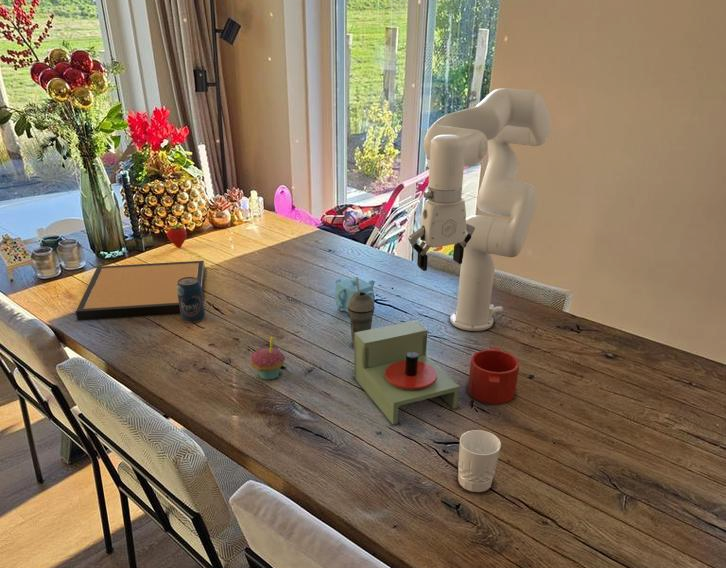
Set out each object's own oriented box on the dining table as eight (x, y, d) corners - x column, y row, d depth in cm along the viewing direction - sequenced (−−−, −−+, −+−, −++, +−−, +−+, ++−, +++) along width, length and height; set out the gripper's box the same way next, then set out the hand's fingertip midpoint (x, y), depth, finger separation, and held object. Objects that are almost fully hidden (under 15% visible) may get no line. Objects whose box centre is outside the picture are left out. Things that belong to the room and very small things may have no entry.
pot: (514, 375, 161) (518, 346, 156) (514, 412, 147) (520, 381, 143) (469, 371, 163) (472, 342, 158) (465, 407, 149) (469, 376, 144)
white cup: (451, 469, 130) (455, 430, 124) (489, 467, 130) (495, 429, 125) (459, 495, 123) (464, 455, 118) (499, 493, 124) (505, 453, 118)
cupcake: (291, 369, 163) (288, 328, 156) (276, 386, 156) (273, 344, 149) (261, 364, 165) (257, 323, 158) (245, 380, 158) (241, 338, 152)
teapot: (321, 306, 195) (320, 275, 190) (356, 294, 202) (356, 264, 197) (357, 326, 183) (357, 295, 178) (393, 313, 191) (394, 282, 185)
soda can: (184, 325, 183) (177, 287, 177) (179, 315, 189) (173, 278, 182) (207, 321, 186) (202, 283, 179) (202, 311, 191) (197, 274, 185)
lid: (438, 367, 153) (440, 344, 149) (434, 394, 143) (436, 370, 139) (389, 362, 154) (390, 339, 151) (381, 388, 144) (381, 365, 141)
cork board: (200, 312, 191) (205, 268, 220) (199, 303, 189) (203, 260, 219) (77, 320, 186) (99, 274, 215) (75, 311, 184) (97, 266, 213)
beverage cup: (371, 353, 170) (372, 284, 160) (345, 350, 172) (344, 281, 161) (376, 340, 176) (377, 273, 166) (350, 337, 178) (350, 271, 167)
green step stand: (457, 407, 149) (462, 360, 142) (392, 424, 143) (394, 376, 136) (413, 364, 166) (416, 319, 158) (354, 377, 160) (354, 332, 153)
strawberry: (166, 247, 237) (161, 221, 232) (184, 243, 241) (180, 217, 236) (173, 252, 233) (169, 225, 228) (191, 247, 237) (188, 221, 232)
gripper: (418, 204, 135) (415, 277, 145) (486, 193, 141) (479, 264, 151) (402, 194, 141) (400, 266, 151) (468, 184, 147) (462, 254, 157)
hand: (440, 265), depth 151 cm, fingers open, 9 cm apart
